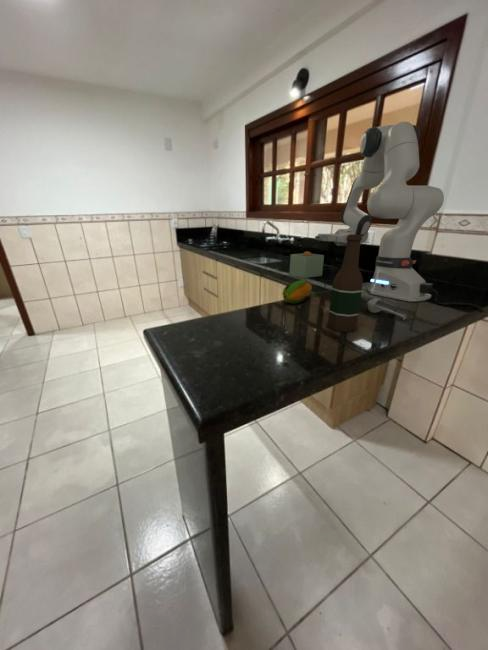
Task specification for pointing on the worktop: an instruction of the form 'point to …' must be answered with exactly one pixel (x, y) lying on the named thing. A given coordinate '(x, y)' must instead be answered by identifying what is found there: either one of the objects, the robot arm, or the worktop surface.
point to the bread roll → (307, 254)
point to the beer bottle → (347, 289)
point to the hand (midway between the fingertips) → (321, 238)
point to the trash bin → (306, 265)
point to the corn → (296, 291)
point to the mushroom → (381, 307)
